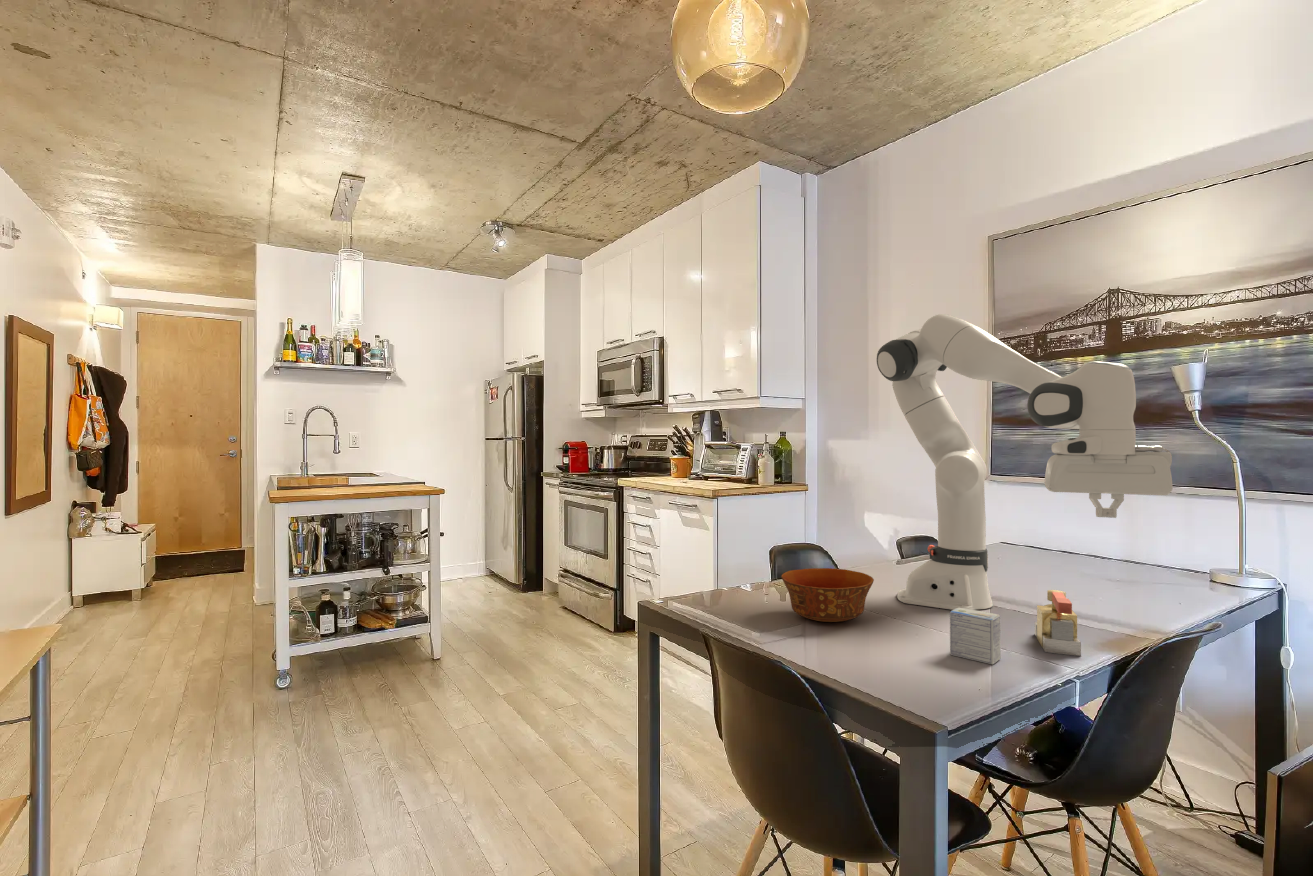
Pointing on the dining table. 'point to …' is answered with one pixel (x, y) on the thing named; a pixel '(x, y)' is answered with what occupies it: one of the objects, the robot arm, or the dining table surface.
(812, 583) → the bowl
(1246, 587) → the dining table surface
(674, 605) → the dining table surface
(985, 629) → the medicine box
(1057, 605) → the lever
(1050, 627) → the valve
